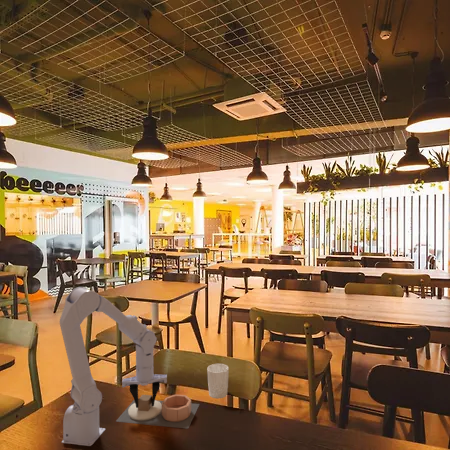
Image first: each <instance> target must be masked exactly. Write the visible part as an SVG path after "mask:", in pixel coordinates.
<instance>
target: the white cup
mask: <svg viewBox="0 0 450 450" xmlns="http://www.w3.org/2000/svg"><path fill="white" fill-rule="evenodd" d="M229 369H230V368H229V366H228V365H227V364H224V363H213V364H210V365H208V366H207V369H206V370H207V371H206V372H207V384H208V395H209V397H211V398H213V399H223V398H226V397H227V396H228V388H229Z"/></svg>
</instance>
